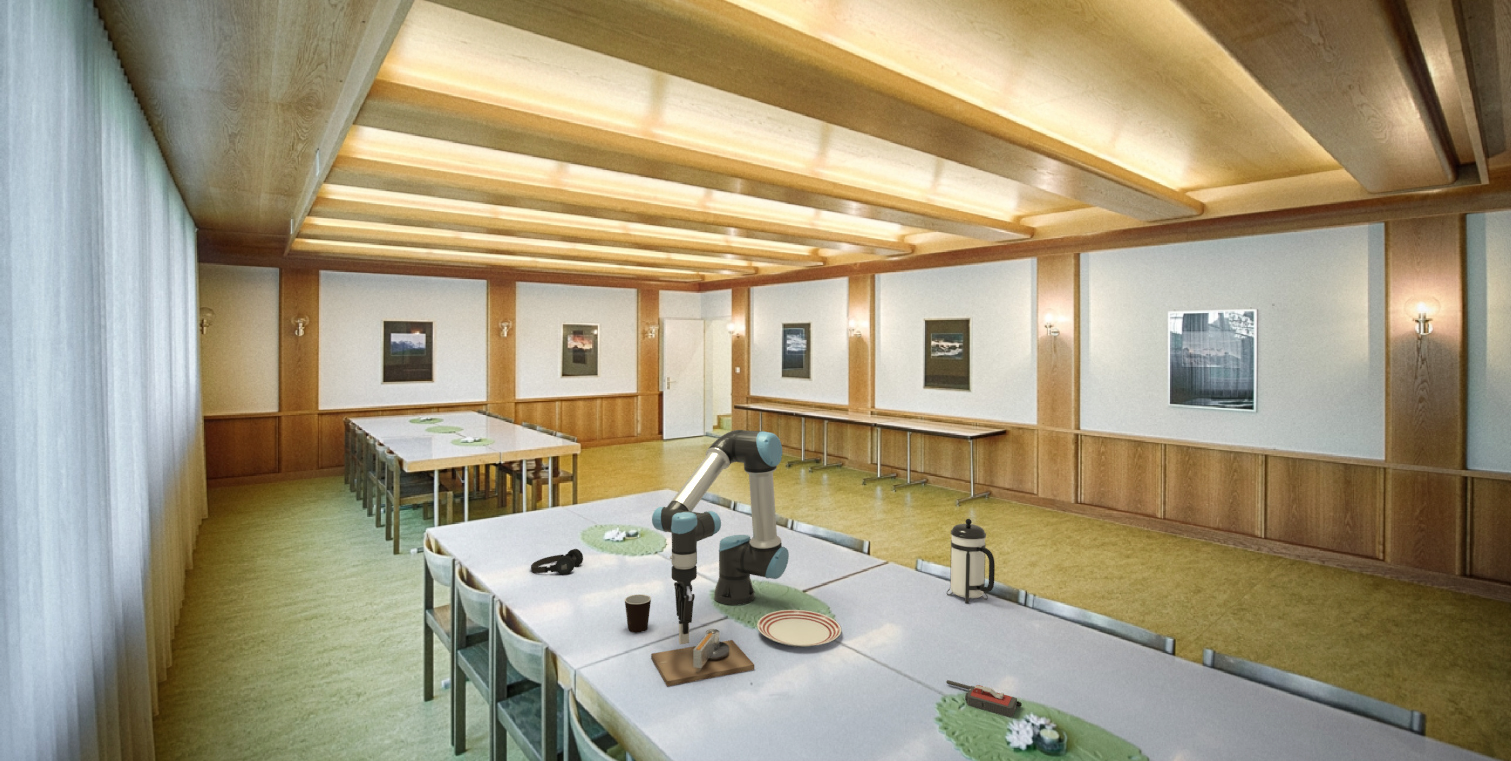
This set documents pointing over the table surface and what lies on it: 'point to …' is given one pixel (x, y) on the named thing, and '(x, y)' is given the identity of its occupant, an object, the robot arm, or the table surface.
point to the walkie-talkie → (989, 699)
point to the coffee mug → (637, 612)
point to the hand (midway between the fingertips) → (684, 642)
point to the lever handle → (709, 649)
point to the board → (680, 668)
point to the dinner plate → (799, 628)
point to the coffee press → (969, 562)
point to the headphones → (559, 563)
